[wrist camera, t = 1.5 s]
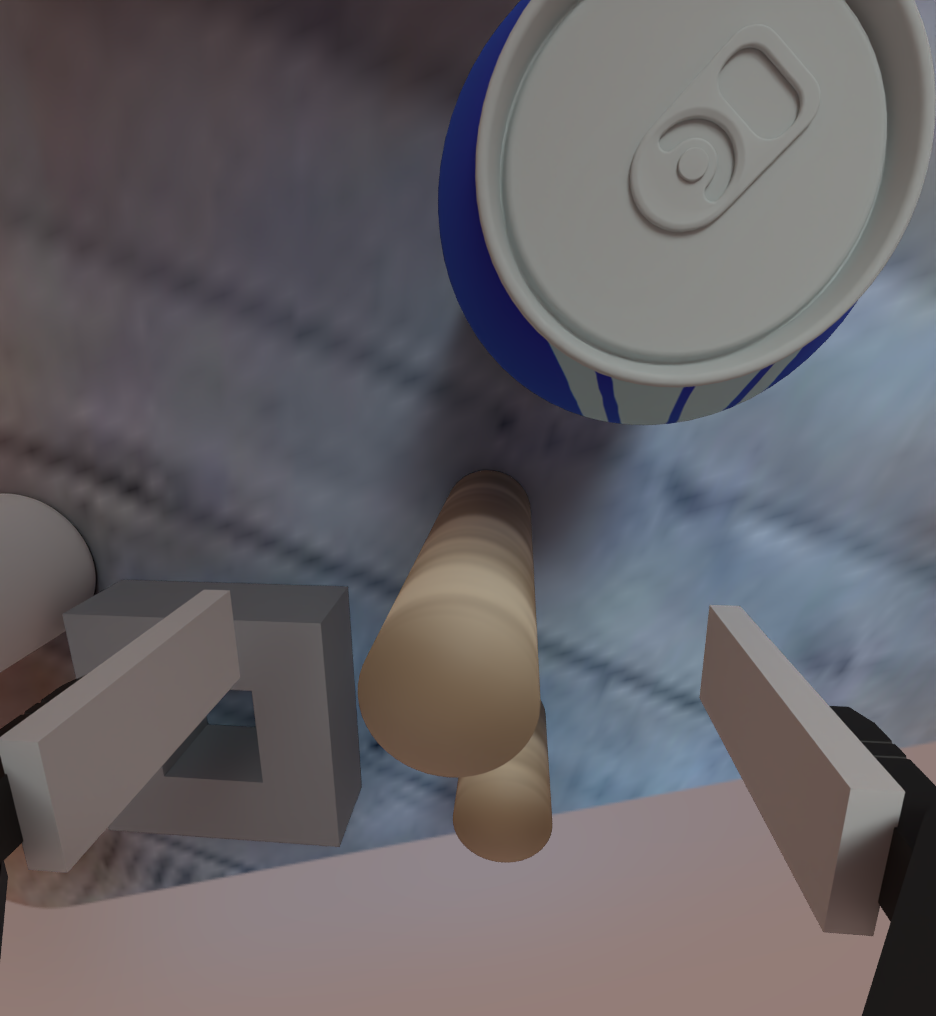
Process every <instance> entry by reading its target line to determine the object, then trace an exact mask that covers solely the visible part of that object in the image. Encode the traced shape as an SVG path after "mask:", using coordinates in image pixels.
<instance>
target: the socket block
mask: <svg viewBox="0 0 936 1016" xmlns="http://www.w3.org/2000/svg"><path fill="white" fill-rule="evenodd" d="M203 590H230V596H231V604H232V613H233V621H234V629H235V638H236V646H237V654H238V663H239V671H240V678H239V679H238V681H237V682H236V683H235V684H234V685H233V686H232V687H231V688H230V690H245V691H252V698H253V706H254V714H255V722H256V727H244V726H226V725H208V724H207V717H205V718H204V719H203V720H202V721H201V722H200V724H199V725H198V726H197V727H196V728H195V729H194V730H193V731H192V733H191V734H190V735H189V736H188V737H187V738H186V739H185V740H184V742H183V743H182V744H181V745H180V746H179V747H178V748H177V749H176V751H175V752H174V753H173V754H172V755H171V756H170V757H169V759H168V760H167V761H166V762H165V763H164V764H163V765H162V766H161V768H160V769H159V770H158V771H157V772H156V773H155V774H154V775H153V777H152V778H151V779H150V780H149V781H148V782H147V783H146V785H145V786H144V787H143V788H142V789H141V790H140V791H139V792H138V794H137V795H136V796H135V797H134V798H133V799H132V800H131V801H130V803H129V804H128V805H127V806H126V807H125V808H124V809H123V811H122V812H121V813H120V814H119V815H118V816H117V817H116V818H115V820H114V821H113V822H112V823H111V824H110V825H109V826H108V828H109V830H114V831H127V832H141V833H155V834H169V835H182V836H196V837H210V838H224V839H237V840H251V841H265V842H279V843H293V844H306V845H320V846H334V847H340V844H341V841H342V839H343V836H344V833H345V831H346V828H347V825H348V822H349V820H350V817H351V814H352V812H353V809H354V806H355V803H356V801H357V798H358V795H359V793H360V790H361V787H362V784H361V770H360V755H359V741H358V726H357V712H356V697H355V683H354V668H353V654H352V639H351V625H350V610H349V596H348V587H345V586H312V585H278V584H245V583H212V582H179V581H146V580H121V581H119V582H117V583H115V584H114V585H112V586H110V587H109V588H107V589H105V590H103V591H102V592H100V593H98V594H96V595H95V596H93V597H91V598H89V599H88V600H86V601H84V602H82V603H81V604H79V605H77V606H75V607H74V608H72V609H70V610H68V611H67V612H65V613H63V614H62V615H63V620H64V625H65V629H66V634H67V639H68V643H69V648H70V652H71V657H72V662H73V666H74V671H75V676H76V679H77V678H80V677H82V676H84V675H86V674H88V673H89V672H91V671H92V670H94V669H95V668H96V667H98V666H99V665H100V664H102V663H103V662H105V661H106V660H107V659H109V658H110V657H111V656H113V655H114V654H116V653H117V652H118V651H120V650H121V649H123V648H124V647H125V646H127V645H128V644H129V643H131V642H132V641H134V640H135V639H136V638H138V637H139V636H141V635H142V634H143V633H145V632H146V631H147V630H149V629H150V628H152V627H153V626H154V625H156V624H157V623H158V622H160V621H161V620H163V619H164V618H165V617H167V616H168V615H170V614H171V613H172V612H174V611H175V610H176V609H178V608H179V607H181V606H182V605H183V604H185V603H186V602H188V601H189V600H190V599H192V598H193V597H194V596H196V595H197V594H199V593H200V592H201V591H203Z"/></svg>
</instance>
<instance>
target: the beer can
mask: <svg viewBox="0 0 936 1016" xmlns="http://www.w3.org/2000/svg"><path fill="white" fill-rule="evenodd" d="M935 107H936V92H935V78H934V68H933V62H932V56H931V51H930V45H929V42H928V38H927V35H926V31H925V28H924V24H923V21H922V18H921V16H920V13H919V11H918V8H917V6H916V3H915V1H914V0H521V1H520V2H519V3H518V4H517V5H516V6H515V7H514V9H513V10H512V11H511V12H510V13H509V14H508V16H507V17H506V18H505V19H504V20H503V21H502V23H501V24H500V25H499V27H498V28H497V29H496V31H495V32H494V34H493V35H492V36H491V38H490V39H489V41H488V42H487V44H486V45H485V46H484V48H483V50H482V51H481V53H480V55H479V57H478V58H477V60H476V62H475V63H474V65H473V67H472V69H471V71H470V73H469V75H468V77H467V79H466V81H465V83H464V86H463V88H462V90H461V92H460V95H459V97H458V100H457V103H456V105H455V108H454V111H453V114H452V116H451V120H450V124H449V127H448V131H447V135H446V138H445V143H444V149H443V154H442V160H441V166H440V176H439V187H438V215H439V227H440V238H441V244H442V249H443V255H444V260H445V264H446V268H447V271H448V275H449V279H450V282H451V285H452V287H453V290H454V293H455V295H456V298H457V301H458V303H459V305H460V307H461V309H462V311H463V313H464V315H465V317H466V319H467V321H468V323H469V324H470V326H471V328H472V329H473V331H474V333H475V334H476V336H477V337H478V339H479V340H480V342H481V343H482V344H483V346H484V347H485V348H486V350H487V351H488V352H489V354H490V355H491V356H492V357H493V358H494V359H495V360H496V361H497V362H498V363H499V364H500V366H501V367H502V368H503V369H504V370H506V371H507V372H508V373H509V374H510V375H511V376H512V377H513V378H514V379H516V380H517V381H518V382H519V383H521V384H522V385H523V386H525V387H526V388H527V389H529V390H530V391H532V392H533V393H534V394H536V395H538V396H540V397H541V398H543V399H545V400H546V401H548V402H550V403H552V404H554V405H556V406H559V407H561V408H563V409H565V410H567V411H570V412H573V413H576V414H579V415H582V416H585V417H588V418H592V419H597V420H601V421H605V422H612V423H620V424H632V425H656V424H670V423H676V422H682V421H688V420H693V419H696V418H700V417H704V416H708V415H711V414H714V413H717V412H720V411H723V410H725V409H728V408H731V407H733V406H735V405H737V404H740V403H742V402H744V401H746V400H748V399H750V398H752V397H754V396H756V395H757V394H759V393H761V392H763V391H764V390H766V389H768V388H770V387H771V386H773V385H774V384H776V383H777V382H778V381H780V380H781V379H783V378H784V377H786V376H787V375H789V374H790V373H791V372H792V371H793V370H795V369H796V368H797V367H798V366H799V365H801V364H802V363H803V362H804V361H806V360H807V359H808V358H809V357H810V356H811V355H812V354H813V353H814V352H815V351H816V350H817V349H818V348H819V347H820V346H821V345H822V344H823V343H824V342H825V341H826V340H827V339H828V338H829V337H830V336H831V334H832V333H833V332H834V331H835V330H836V329H837V327H838V326H839V325H840V324H841V323H842V322H843V320H844V319H845V318H846V316H847V315H848V313H849V312H850V311H851V309H852V308H853V307H854V305H855V304H856V302H857V301H858V299H859V298H860V297H861V296H862V295H863V293H864V292H865V291H866V290H867V289H868V288H869V286H870V285H871V284H872V283H873V281H874V280H875V278H876V277H877V276H878V274H879V273H880V272H881V270H882V269H883V268H884V266H885V265H886V263H887V261H888V260H889V258H890V257H891V255H892V253H893V252H894V250H895V248H896V247H897V245H898V243H899V241H900V239H901V237H902V235H903V233H904V231H905V229H906V227H907V226H908V224H909V222H910V219H911V217H912V214H913V212H914V209H915V207H916V204H917V202H918V199H919V197H920V193H921V190H922V187H923V183H924V180H925V177H926V174H927V169H928V164H929V160H930V155H931V150H932V144H933V136H934V127H935Z"/></svg>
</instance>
